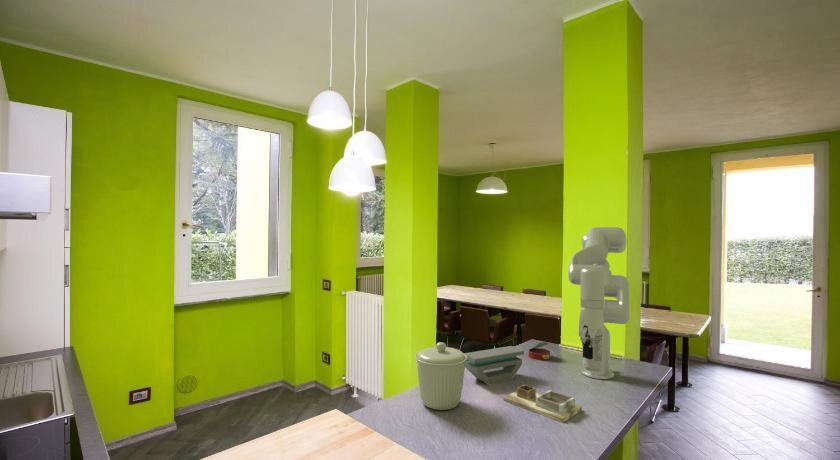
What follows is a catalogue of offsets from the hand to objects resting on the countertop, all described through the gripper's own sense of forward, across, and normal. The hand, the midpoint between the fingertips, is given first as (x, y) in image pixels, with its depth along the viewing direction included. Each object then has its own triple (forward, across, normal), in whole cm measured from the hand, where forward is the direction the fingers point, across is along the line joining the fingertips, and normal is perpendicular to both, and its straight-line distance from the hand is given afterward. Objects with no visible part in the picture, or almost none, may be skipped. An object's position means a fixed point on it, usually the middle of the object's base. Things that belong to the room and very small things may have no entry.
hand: (592, 355), depth 136 cm
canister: (+17, +38, -36) cm, 55 cm away
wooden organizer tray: (+17, +13, -12) cm, 24 cm away
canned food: (+19, -35, -41) cm, 57 cm away
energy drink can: (+5, 0, 0) cm, 5 cm away
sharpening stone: (+18, +5, -38) cm, 42 cm away
